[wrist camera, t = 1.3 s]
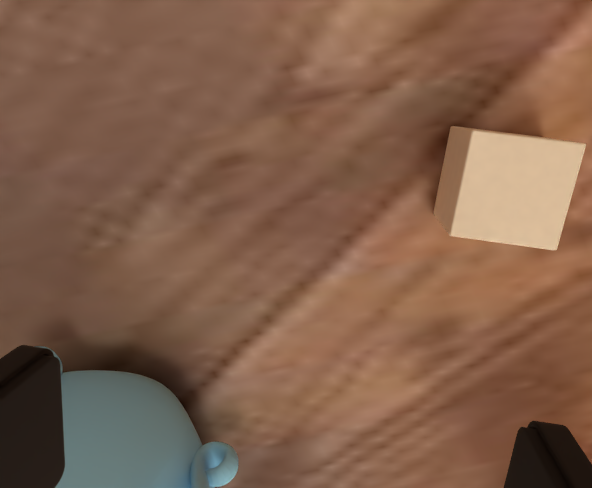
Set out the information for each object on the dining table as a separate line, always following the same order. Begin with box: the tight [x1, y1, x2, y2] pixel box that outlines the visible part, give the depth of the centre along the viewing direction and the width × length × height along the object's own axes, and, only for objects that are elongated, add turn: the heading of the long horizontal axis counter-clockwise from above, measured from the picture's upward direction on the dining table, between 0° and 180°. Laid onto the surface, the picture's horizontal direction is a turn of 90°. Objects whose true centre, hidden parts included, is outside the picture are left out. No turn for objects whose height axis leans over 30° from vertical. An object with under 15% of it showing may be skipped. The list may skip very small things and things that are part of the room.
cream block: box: [433, 126, 586, 250], centre depth 25 cm, size 5×5×5 cm
